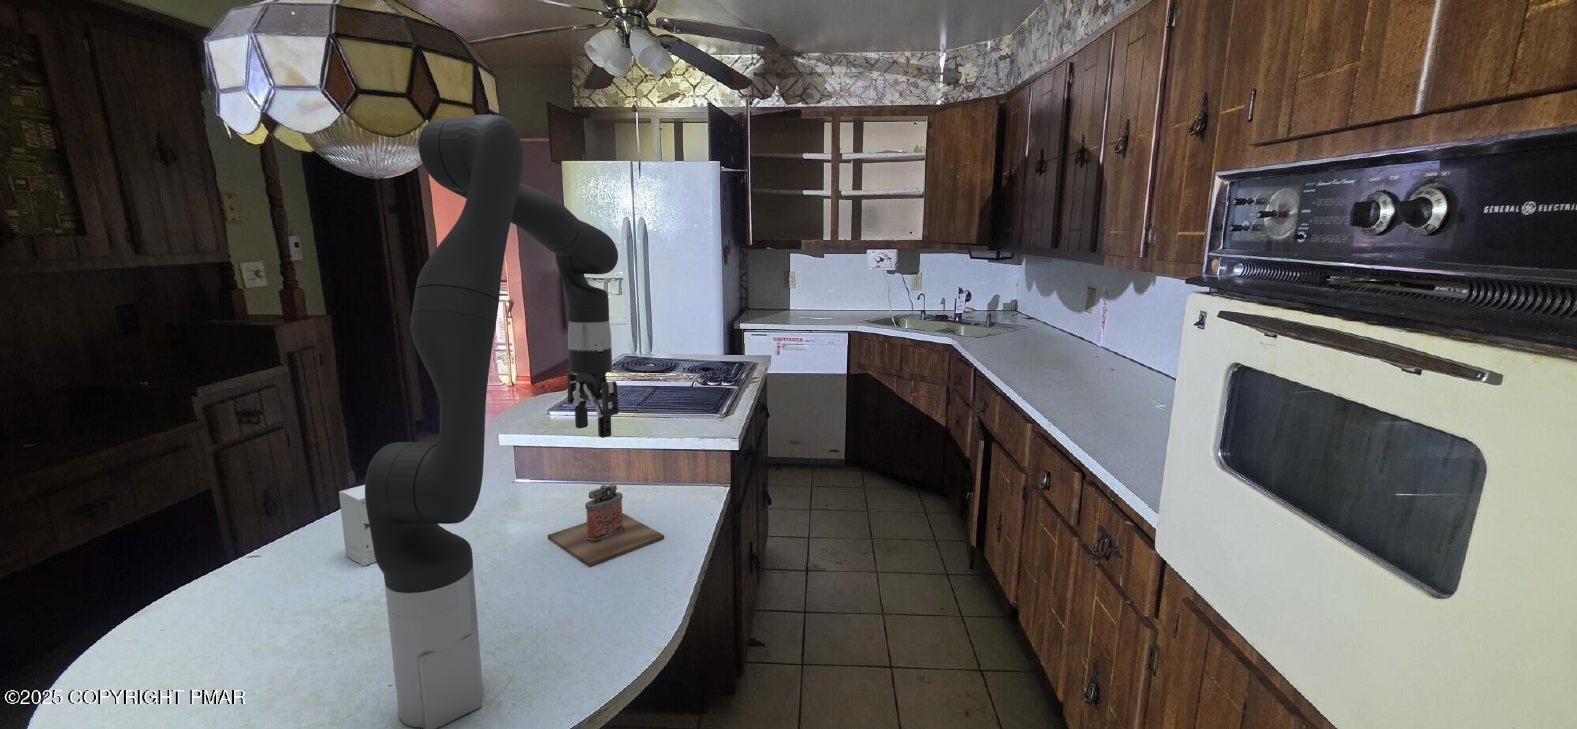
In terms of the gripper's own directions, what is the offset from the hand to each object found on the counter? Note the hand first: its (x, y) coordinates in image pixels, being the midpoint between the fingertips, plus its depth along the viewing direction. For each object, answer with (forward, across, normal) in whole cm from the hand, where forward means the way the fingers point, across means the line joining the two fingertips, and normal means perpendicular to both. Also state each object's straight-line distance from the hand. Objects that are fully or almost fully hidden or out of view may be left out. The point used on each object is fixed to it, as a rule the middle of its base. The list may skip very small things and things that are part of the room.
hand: (593, 432), depth 117 cm
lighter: (+22, -1, +2) cm, 22 cm away
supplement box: (+23, -25, -31) cm, 45 cm away
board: (+22, -1, +2) cm, 22 cm away
